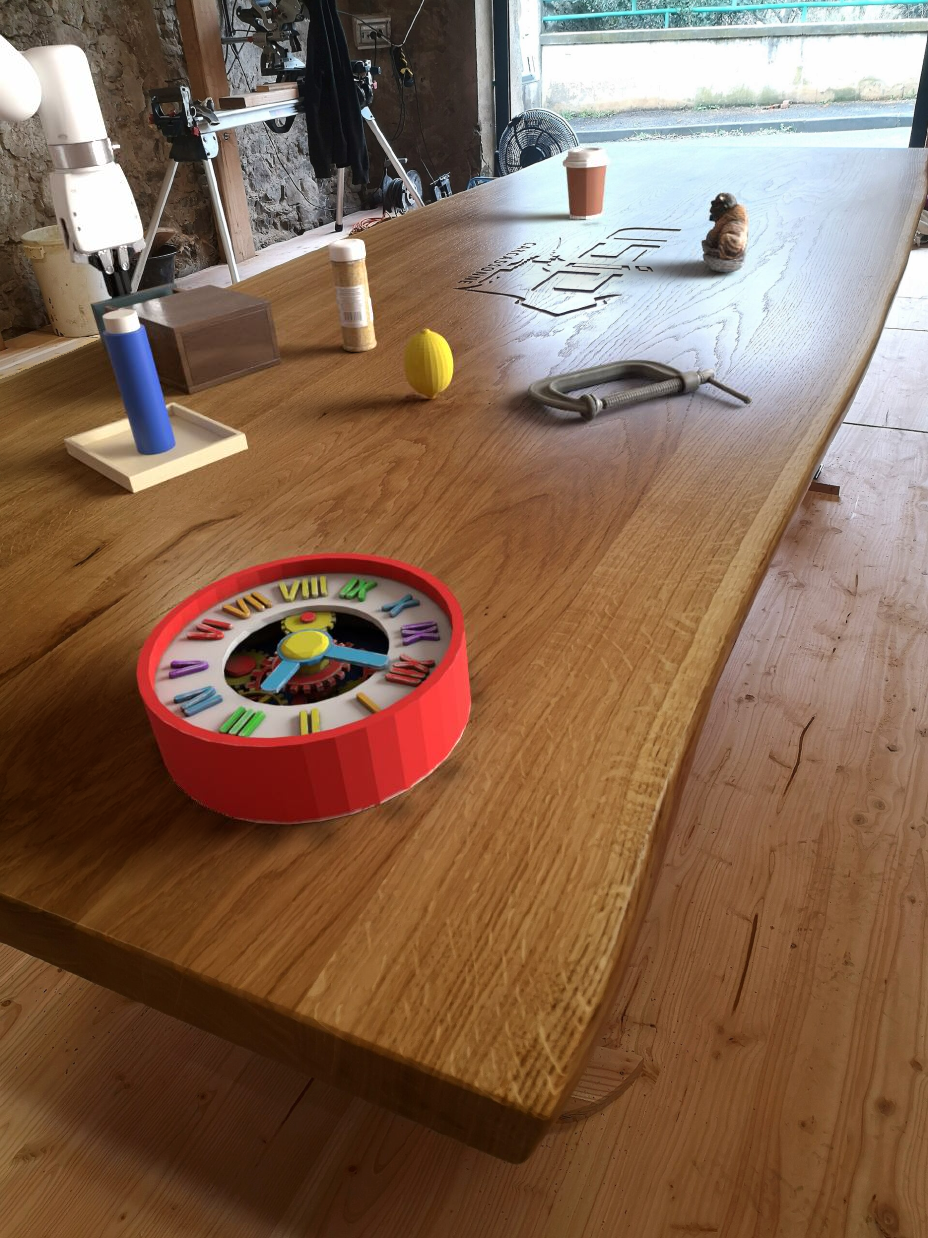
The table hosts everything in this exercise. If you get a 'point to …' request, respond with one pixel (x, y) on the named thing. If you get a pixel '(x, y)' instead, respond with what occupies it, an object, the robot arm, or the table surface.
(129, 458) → the tray
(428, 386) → the lemon
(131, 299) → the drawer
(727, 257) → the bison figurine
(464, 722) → the toy clock
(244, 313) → the cabinet
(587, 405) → the c clamp
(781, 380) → the table surface
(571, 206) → the coffee cup
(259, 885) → the table surface
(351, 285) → the sprinkles bottle
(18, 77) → the robot arm
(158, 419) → the water bottle
